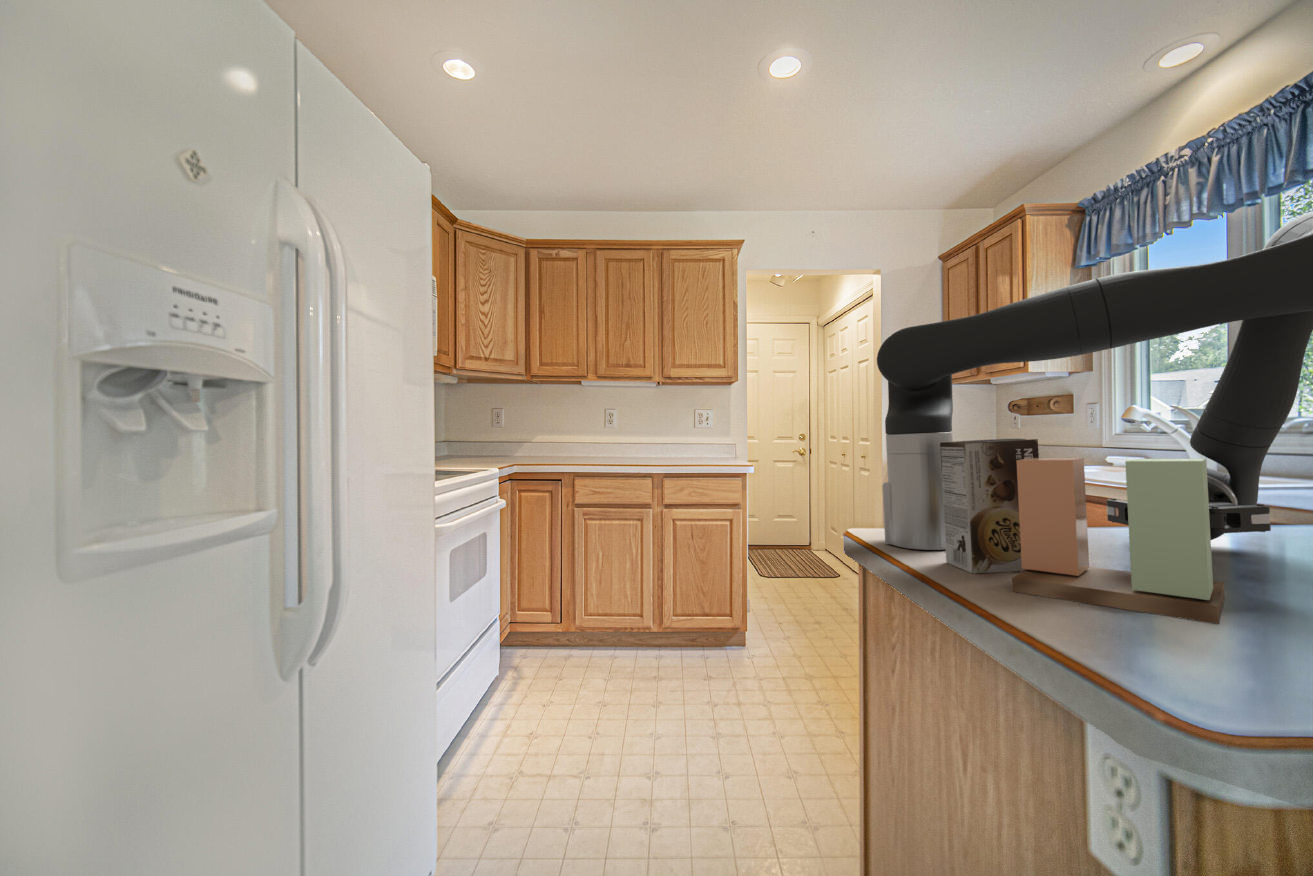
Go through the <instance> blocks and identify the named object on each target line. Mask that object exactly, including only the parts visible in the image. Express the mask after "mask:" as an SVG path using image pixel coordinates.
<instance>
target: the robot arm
mask: <svg viewBox="0 0 1313 876" xmlns="http://www.w3.org/2000/svg"><path fill="white" fill-rule="evenodd" d="M1239 321H1241V324H1240V327H1239V329H1238V333H1237V335H1236V339H1235V341H1234V344H1233V347H1232V350H1231V351H1230V354H1229V356H1228V359H1227V362H1226V364H1225V366H1224V368H1223V370H1222V374H1221V375H1220V377H1219V379H1218V382H1217V384H1216V385H1215V388H1214V390H1213V392H1212V394H1211V396H1210V398H1209V399H1208V402H1207V403H1206V405H1205V408H1204V409H1203V412H1202V414H1201V416H1200V418H1199V419H1198V422H1197V424H1196V425H1195V428H1194V429H1193V431H1192V434H1191V437H1190V439H1189V443H1190V447H1191V448H1192V449H1193V451H1195V452H1197V453H1198V454H1199V455H1201V456H1203V457H1205V458H1206V459H1209V460H1211V461H1214V462H1215V463H1217V464H1219V465H1220V466H1222V467H1223V468H1225V470H1226V471H1227V472H1228V473H1225V472H1223V471H1218V470H1215V469H1212V468H1209V467H1207V482H1208V501H1209V519H1210V538H1211V541H1212V540H1215V539H1218V538H1220V537H1222V536H1224V535H1225V534H1234V533H1236V534H1238V533H1240V534H1241V533H1253V532H1254V533H1256V532H1257V533H1258V532H1259V533H1266V532H1271V531H1272V527H1271V510H1270V509H1271V508H1270V505H1265V504H1263V503H1258V500H1259V485H1260V477H1261V470H1262V467H1263V463H1264V460H1265V457H1266V456H1267V453H1268V452H1269V450H1270V447H1271V445H1272V444H1273V443H1274V440H1275V439H1276V438H1277V435H1278V434H1279V432H1280V430H1281V429H1282V427H1283V425H1284V424H1285V422H1286V420H1287V419H1288V416H1289V414H1290V412H1291V411H1292V408H1293V406H1294V402H1295V400H1296V397H1297V394H1298V389H1299V384H1300V379H1301V374H1302V371H1303V363H1304V360H1305V359H1304V358H1305V356H1306V355H1305V354H1306V351H1307V347H1308V344H1309V341H1310V338H1311V336H1312V334H1313V211H1310V212H1307V213H1304V214H1301V215H1299V216H1297V217H1295V218H1294V219H1292V220H1290V221H1288V222H1287V223H1285V224H1284V225H1283V226H1281V227H1280V228H1279V229H1277V231H1275V232H1274V233H1273V235H1271V237H1270V238H1269V239H1268V240H1267V242H1265V245H1264V247H1263V249H1259V250H1256V251H1253V252H1249V253H1246V254H1243V255H1239V256H1236V257H1232V258H1228V259H1224V260H1219V261H1214V262H1209V263H1202V264H1197V265H1195V264H1194V265H1193V264H1192V265H1185V266H1176V267H1175V266H1173V267H1163V268H1153V269H1146V270H1145V269H1143V270H1135V271H1127V272H1122V273H1121V272H1120V273H1117V274H1116V273H1115V274H1112V275H1106V276H1102V277H1098V278H1097V277H1096V278H1093V279H1091V280H1085V281H1083V282H1079V283H1075V284H1071V285H1069V286H1064V287H1061V288H1058V289H1054V290H1051V291H1048V292H1045V293H1041V294H1037V295H1035V296H1031V297H1027V298H1025V299H1021V300H1018V301H1014V302H1011V303H1008V304H1006V305H1002V306H999V307H998V308H994V309H991V310H988V311H984V312H981V313H978V314H974V315H970V316H965V317H960V318H959V317H958V318H955V319H948V320H943V321H939V322H937V321H936V322H932V323H931V322H930V323H926V324H919V325H914V326H908V327H905V328H901V329H899V330H897V331H896V332H893V333H892V334H891V335H890V336H888V337H887V338H885V340H884V341H883V343H882V344H881V346H880V347H879V349H878V352H877V355H876V365H877V368H878V370H879V372H880V375H882V376H883V378H884V379H885V380H886V381H887V386H888V387H887V390H888V391H887V392H888V393H887V394H888V406H887V407H888V409H887V413H886V416H885V420H884V421H885V422H884V426H885V427H884V428H885V448H886V450H885V451H886V466H887V467H886V468H887V482H884V483H883V484H882V503H883V525H884V544H885V543H886V545H893V546H896V547H898V548H904V549H911V550H912V549H913V550H924V551H925V550H926V551H941V550H946V544H945V525H944V508H943V490H942V471H941V452H940V443H941V442H954V441H953V432H952V431H953V423H952V422H953V412H954V404H953V403H954V402H953V375H955V374H958V373H962V372H965V371H970V370H973V369H977V368H982V367H986V366H991V365H999V364H1013V363H1027V362H1029V363H1030V362H1041V361H1042V362H1043V361H1050V360H1058V359H1063V358H1072V357H1078V356H1082V355H1087V354H1091V353H1098V352H1101V351H1106V350H1107V351H1108V350H1111V349H1115V348H1119V347H1121V348H1122V347H1125V346H1129V345H1132V344H1137V343H1142V342H1146V341H1150V340H1155V339H1159V338H1160V339H1161V338H1164V337H1169V336H1175V335H1179V334H1182V333H1183V334H1184V333H1187V332H1192V331H1195V330H1200V329H1203V328H1208V327H1212V326H1218V325H1223V324H1227V323H1233V322H1239ZM1106 514H1107V515H1106V516H1107V521H1108V522H1111V523H1117V524H1121V525H1125V526H1129V523H1128V504H1127V500H1122V499H1117V498H1113V497H1112V498H1111V497H1110V498H1109V499H1106Z"/></svg>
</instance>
